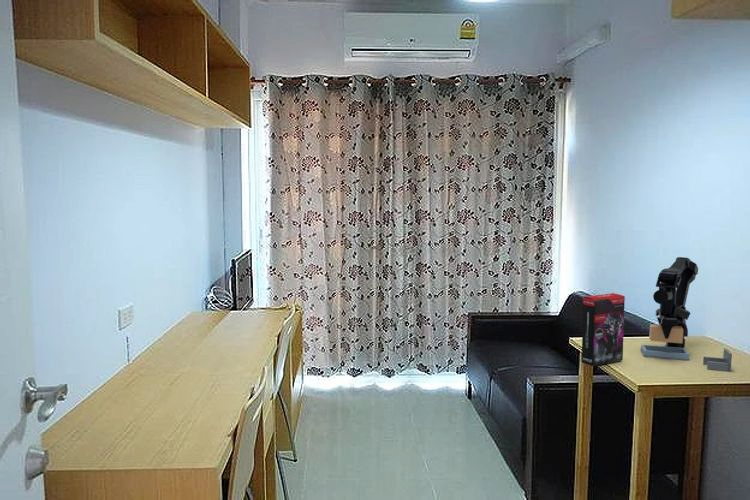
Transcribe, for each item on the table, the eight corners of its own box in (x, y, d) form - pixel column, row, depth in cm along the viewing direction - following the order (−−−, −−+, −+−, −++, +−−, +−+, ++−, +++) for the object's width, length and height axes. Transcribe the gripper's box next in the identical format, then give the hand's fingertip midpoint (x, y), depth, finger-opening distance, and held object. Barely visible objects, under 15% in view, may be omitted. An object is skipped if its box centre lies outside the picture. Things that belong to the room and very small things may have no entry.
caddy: (650, 340, 253) (651, 326, 252) (649, 337, 257) (650, 324, 257) (682, 343, 249) (683, 329, 248) (680, 340, 254) (681, 326, 253)
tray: (643, 356, 252) (644, 350, 251) (640, 350, 261) (641, 344, 261) (689, 360, 247) (689, 354, 246) (684, 353, 256) (684, 348, 256)
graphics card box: (592, 367, 237) (596, 299, 233) (579, 362, 243) (582, 295, 240) (623, 361, 244) (626, 295, 241) (609, 357, 251) (612, 292, 247)
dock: (707, 369, 235) (708, 352, 234) (702, 363, 243) (704, 346, 242) (730, 371, 233) (731, 353, 232) (725, 365, 240) (726, 348, 239)
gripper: (694, 306, 240) (691, 344, 242) (685, 297, 258) (682, 333, 260) (663, 304, 243) (660, 342, 245) (656, 295, 261) (654, 331, 263)
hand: (665, 337), depth 253 cm, fingers closed on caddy, 5 cm apart
